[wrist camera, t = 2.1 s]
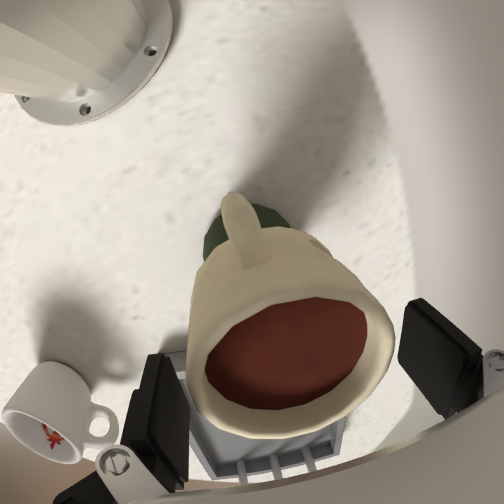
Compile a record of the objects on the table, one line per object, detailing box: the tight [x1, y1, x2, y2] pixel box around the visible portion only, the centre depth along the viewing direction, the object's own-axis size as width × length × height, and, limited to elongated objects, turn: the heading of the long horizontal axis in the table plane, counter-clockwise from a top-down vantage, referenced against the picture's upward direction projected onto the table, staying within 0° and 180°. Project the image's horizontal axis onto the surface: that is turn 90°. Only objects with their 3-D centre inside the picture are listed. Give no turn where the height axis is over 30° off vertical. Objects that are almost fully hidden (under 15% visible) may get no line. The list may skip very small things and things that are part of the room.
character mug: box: [185, 192, 395, 439], centre depth 15 cm, size 11×7×13 cm, turn 18°
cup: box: [2, 361, 119, 464], centre depth 20 cm, size 11×8×8 cm
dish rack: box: [164, 351, 346, 486], centre depth 24 cm, size 20×16×8 cm
